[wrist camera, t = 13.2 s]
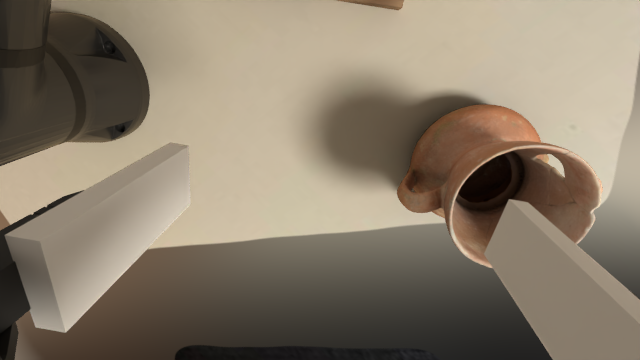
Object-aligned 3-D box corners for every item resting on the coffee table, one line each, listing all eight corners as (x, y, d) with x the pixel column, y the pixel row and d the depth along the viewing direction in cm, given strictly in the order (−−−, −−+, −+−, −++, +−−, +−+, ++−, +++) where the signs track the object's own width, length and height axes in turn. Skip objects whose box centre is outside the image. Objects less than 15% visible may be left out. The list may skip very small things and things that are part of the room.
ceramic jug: (546, 93, 35) (663, 121, 22) (526, 204, 41) (609, 278, 28) (386, 107, 37) (408, 141, 24) (388, 211, 43) (407, 284, 30)
